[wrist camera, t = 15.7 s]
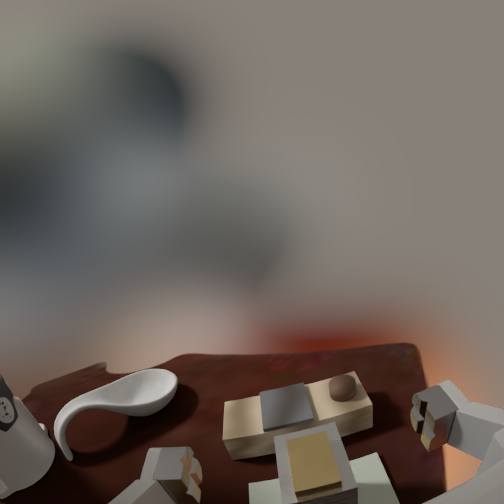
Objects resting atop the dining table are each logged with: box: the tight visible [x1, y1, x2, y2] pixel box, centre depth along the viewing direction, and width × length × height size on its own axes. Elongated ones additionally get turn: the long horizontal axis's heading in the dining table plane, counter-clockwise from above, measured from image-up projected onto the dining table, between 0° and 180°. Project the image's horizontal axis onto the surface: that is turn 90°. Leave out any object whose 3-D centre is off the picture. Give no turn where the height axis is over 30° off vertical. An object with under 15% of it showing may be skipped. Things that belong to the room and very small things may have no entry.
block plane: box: [223, 371, 373, 460], centre depth 34 cm, size 17×7×6 cm, turn 92°
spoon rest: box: [54, 369, 178, 461], centre depth 41 cm, size 24×12×7 cm, turn 140°
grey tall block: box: [274, 422, 358, 504], centre depth 20 cm, size 5×7×11 cm
